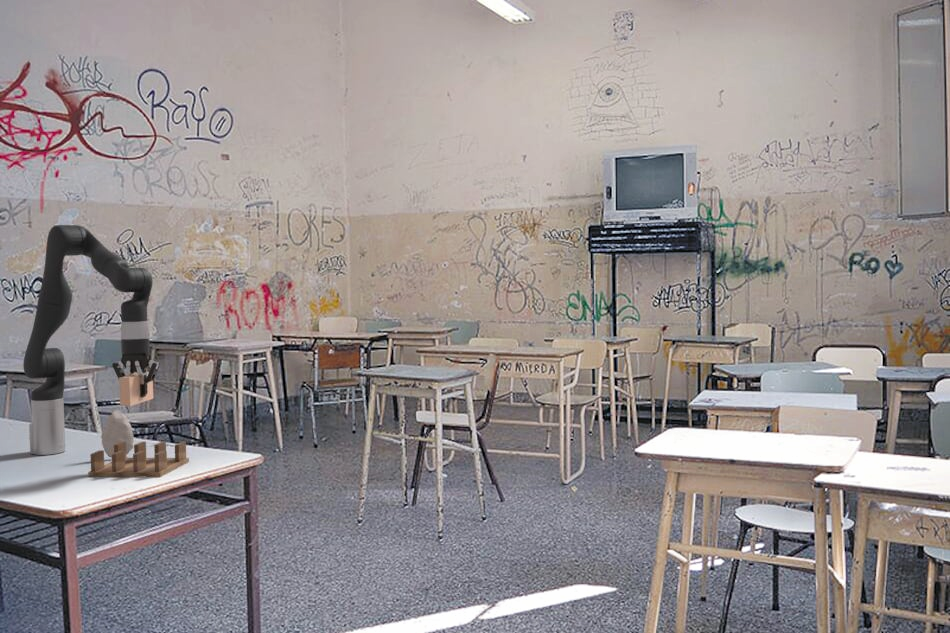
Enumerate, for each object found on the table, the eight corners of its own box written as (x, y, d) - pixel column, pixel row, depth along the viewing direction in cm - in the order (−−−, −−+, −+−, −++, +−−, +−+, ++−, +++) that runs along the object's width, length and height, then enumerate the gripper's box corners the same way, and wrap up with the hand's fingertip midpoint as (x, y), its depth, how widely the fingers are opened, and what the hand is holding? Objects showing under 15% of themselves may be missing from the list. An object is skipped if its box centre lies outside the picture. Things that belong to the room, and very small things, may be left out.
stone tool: (103, 461, 261) (101, 411, 261) (101, 459, 264) (99, 410, 263) (135, 457, 266) (133, 408, 266) (132, 455, 269) (131, 407, 268)
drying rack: (88, 476, 242) (87, 454, 241) (121, 461, 260) (121, 441, 260) (160, 476, 240) (159, 454, 239) (189, 461, 259) (188, 441, 258)
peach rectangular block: (120, 406, 242) (119, 377, 242) (143, 398, 256) (142, 371, 256) (130, 406, 242) (129, 377, 241) (153, 398, 256) (152, 371, 255)
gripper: (104, 338, 245) (107, 398, 246) (152, 337, 244) (154, 398, 244) (118, 336, 252) (120, 395, 253) (164, 335, 251) (166, 394, 252)
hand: (137, 396), depth 249 cm, fingers closed on peach rectangular block, 3 cm apart
